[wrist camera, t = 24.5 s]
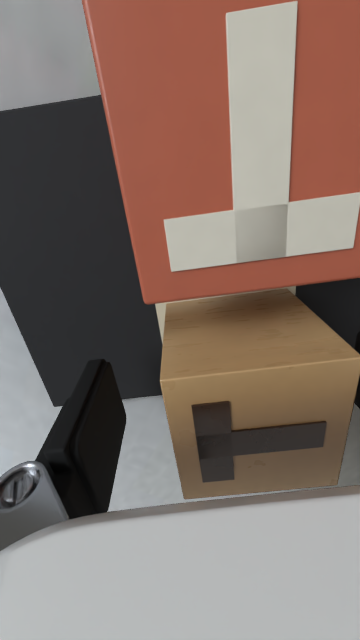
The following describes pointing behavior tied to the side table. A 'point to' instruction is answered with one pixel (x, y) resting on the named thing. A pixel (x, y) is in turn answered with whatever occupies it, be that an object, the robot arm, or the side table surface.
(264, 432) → the maple block
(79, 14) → the side table surface
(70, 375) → the word mat
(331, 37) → the terracotta block
